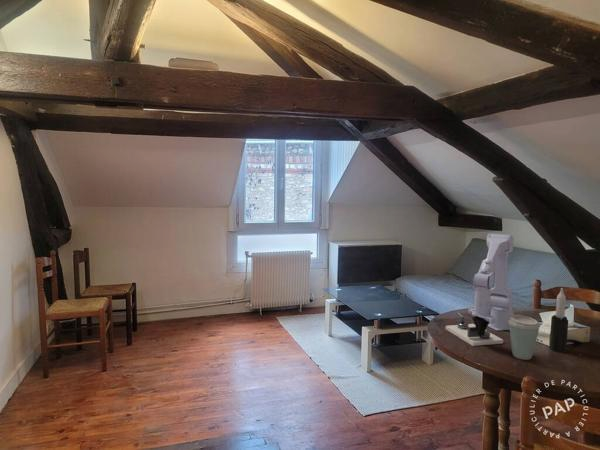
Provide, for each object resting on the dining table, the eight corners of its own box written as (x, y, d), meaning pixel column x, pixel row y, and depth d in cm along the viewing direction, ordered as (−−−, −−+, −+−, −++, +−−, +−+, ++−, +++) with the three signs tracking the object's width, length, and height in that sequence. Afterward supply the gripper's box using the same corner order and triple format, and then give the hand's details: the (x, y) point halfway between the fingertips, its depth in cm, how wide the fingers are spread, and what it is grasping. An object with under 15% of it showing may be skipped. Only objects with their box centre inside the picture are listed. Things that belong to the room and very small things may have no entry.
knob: (469, 329, 182) (470, 319, 182) (459, 328, 182) (460, 318, 182) (461, 321, 192) (462, 312, 192) (452, 321, 192) (452, 312, 192)
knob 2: (485, 334, 176) (486, 324, 175) (492, 338, 172) (492, 327, 171) (465, 336, 174) (465, 325, 173) (471, 339, 170) (472, 329, 169)
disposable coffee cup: (537, 354, 160) (540, 316, 159) (538, 364, 151) (541, 324, 149) (506, 348, 165) (509, 312, 164) (505, 358, 156) (508, 320, 154)
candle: (563, 348, 166) (567, 287, 164) (566, 352, 162) (571, 290, 159) (548, 346, 168) (553, 285, 166) (551, 351, 163) (556, 288, 161)
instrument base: (473, 326, 190) (473, 322, 190) (503, 343, 171) (503, 338, 171) (445, 328, 187) (445, 324, 187) (472, 345, 168) (473, 340, 168)
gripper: (462, 298, 174) (461, 329, 176) (485, 308, 160) (483, 342, 161) (477, 297, 176) (475, 328, 177) (500, 307, 162) (499, 341, 163)
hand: (480, 335), depth 169 cm, fingers closed
